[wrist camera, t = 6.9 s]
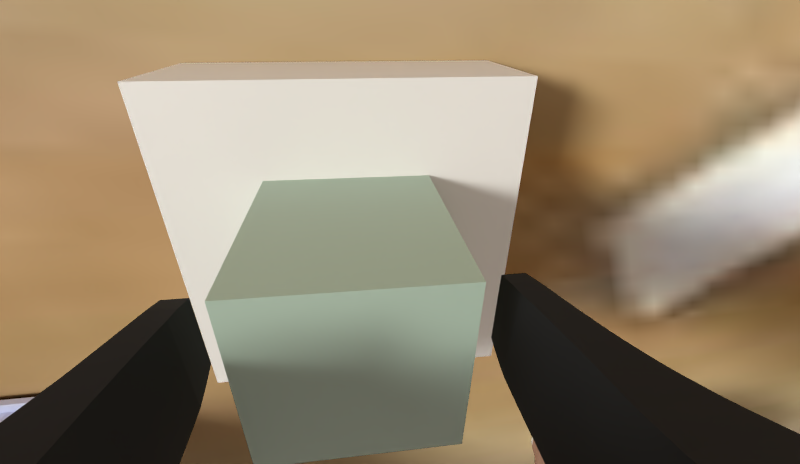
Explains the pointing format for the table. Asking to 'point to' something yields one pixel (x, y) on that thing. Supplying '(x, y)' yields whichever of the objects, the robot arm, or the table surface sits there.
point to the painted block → (329, 149)
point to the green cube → (347, 319)
